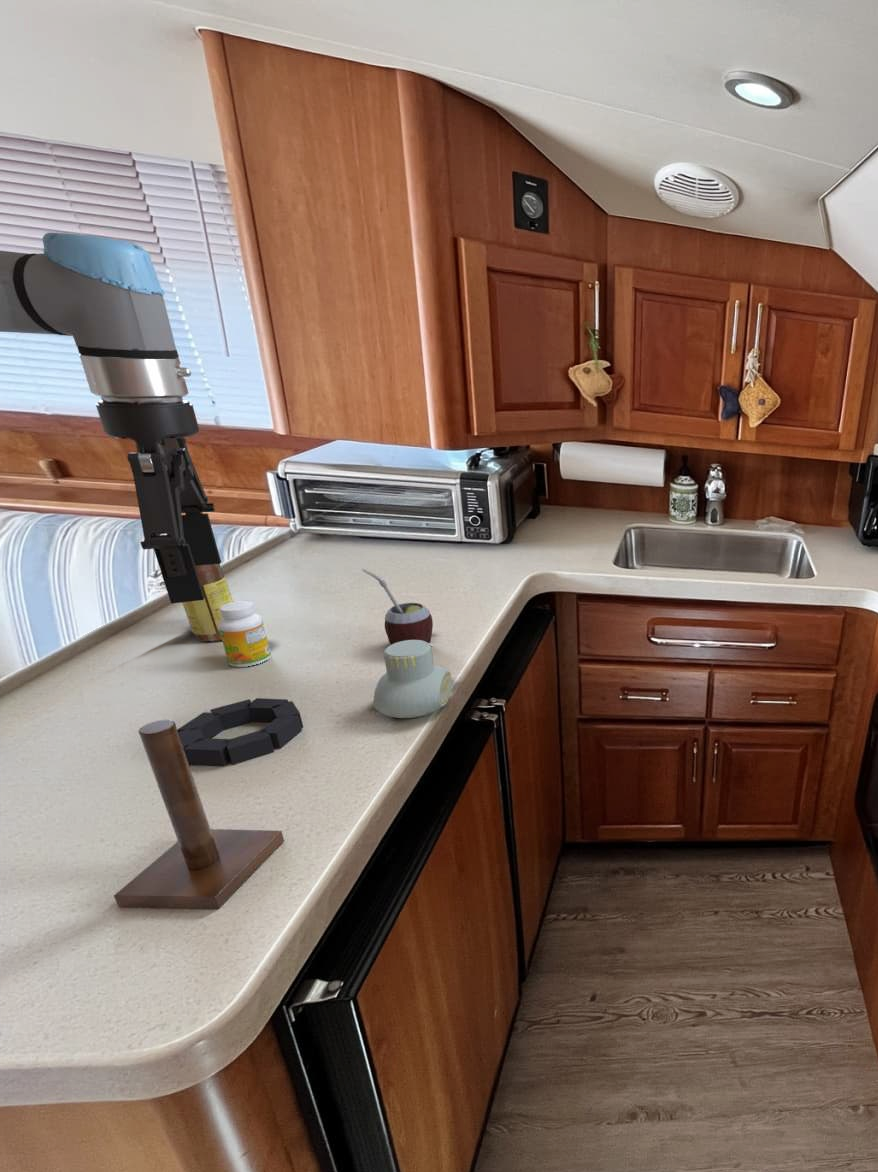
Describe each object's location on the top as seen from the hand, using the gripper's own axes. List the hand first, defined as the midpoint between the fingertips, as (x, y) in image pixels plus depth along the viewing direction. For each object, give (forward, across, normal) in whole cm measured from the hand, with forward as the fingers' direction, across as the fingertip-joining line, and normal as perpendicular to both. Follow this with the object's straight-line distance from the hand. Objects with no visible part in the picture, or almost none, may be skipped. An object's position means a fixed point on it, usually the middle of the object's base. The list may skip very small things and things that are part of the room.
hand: (198, 581), depth 77 cm
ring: (+22, 0, 0) cm, 22 cm away
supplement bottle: (+23, +25, +1) cm, 34 cm away
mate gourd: (+23, +19, -21) cm, 36 cm away
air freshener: (+23, -2, -20) cm, 30 cm away
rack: (+22, -26, +1) cm, 35 cm away
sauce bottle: (+22, +38, +7) cm, 44 cm away
